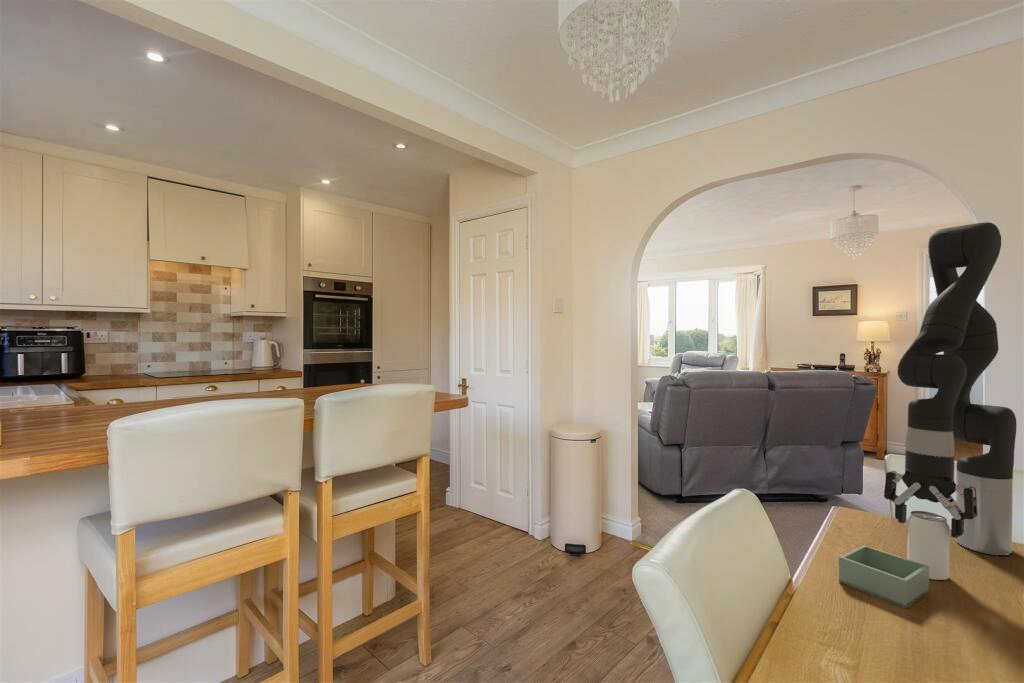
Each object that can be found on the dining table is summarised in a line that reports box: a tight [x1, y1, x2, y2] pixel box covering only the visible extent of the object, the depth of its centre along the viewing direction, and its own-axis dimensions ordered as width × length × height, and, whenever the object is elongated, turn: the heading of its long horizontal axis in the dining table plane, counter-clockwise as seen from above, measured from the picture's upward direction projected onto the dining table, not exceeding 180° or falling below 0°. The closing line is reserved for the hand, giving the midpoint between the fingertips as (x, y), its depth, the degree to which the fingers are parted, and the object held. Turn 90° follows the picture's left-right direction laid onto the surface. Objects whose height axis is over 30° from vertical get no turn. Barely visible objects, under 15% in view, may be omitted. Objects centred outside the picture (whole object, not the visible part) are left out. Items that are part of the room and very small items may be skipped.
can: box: [906, 510, 951, 581], centre depth 96 cm, size 6×6×12 cm
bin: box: [838, 544, 930, 609], centre depth 91 cm, size 11×11×5 cm
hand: (927, 529), depth 96 cm, fingers open, 8 cm apart
